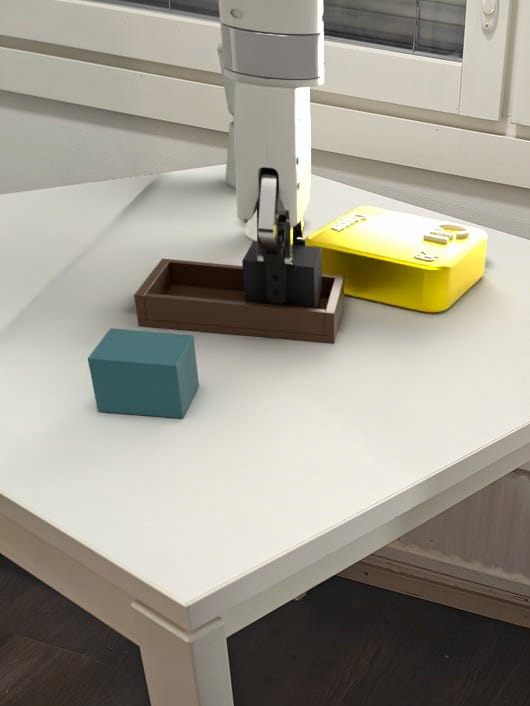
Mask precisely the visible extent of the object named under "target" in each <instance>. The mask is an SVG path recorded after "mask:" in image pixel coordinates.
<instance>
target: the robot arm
mask: <svg viewBox="0 0 530 706" xmlns="http://www.w3.org/2000/svg"><path fill="white" fill-rule="evenodd" d="M218 9H219V10H218V11H219V22H220V35H221V43H222V51H223V64H224V66H223V67H224V75H225V76H226V77H228V78H230V79H232V80H235V81H236V82H235V102H234V136H235V167H236V190H235V193H236V195H235V197H236V214H237V218H238V220H239V221H240V222H242V224H246V223H247V222H248V221H249V219H250V220H251V219H252V217H253V215H254V214H255V212H256V210H257V276H258V292H259V304H270V305H281V306H292V307H298V300H297V269H296V262H292V260H293V245H302V246H306V240H305V237H304V236H305V225H304V215H305V212H306V210H307V208H308V207H307V206H308V204H309V202H310V197H311V180H312V132H311V131H312V130H311V129H312V127H311V99H310V98H311V96H310V94H311V93H310V88H315V87H317V86H322V85H323V84H324V83H325V67H324V65H325V64H324V61H325V60H324V0H218ZM298 238H301V239H298Z"/></svg>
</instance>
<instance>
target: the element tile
mask: <svg viewBox="0 0 530 706" xmlns="http://www.w3.org/2000/svg"><path fill="white" fill-rule="evenodd" d="M304 240H306V246H312V247H321V266H322V274H330V275H341V276H344V296H349V297H354V298H357V299H358V298H359V299H363V300H367V301H372V302H377V303H381V304H386V305H389V306H390V305H391V306H395V307H399V308H403V309H409V310H412V311H417V312H422V313H432V314H435V313H441V312H444V311H446V310H448V309H449V308H451V306H453V305H454V304H455V303H456V302H457V301H458V300H459V299H460V298H461V297H462V296H463V295H464V294H466V292H467V291H468V290H470V289H471V288H472V287H473V286H474V285H475V284H476V283H477V282H478V281H479V280H480V279H481V278H482V277H483V276H484V274H485V265H486V256H487V246H488V235H487V233H486V232H485V230H484V229H481V228H476V227H472V226H467V225H464V224H460V223H459V224H458V223H453V222H448V221H444V220H443V221H442V220H437V219H432V218H427V217H423V216H418V215H413V214H408V213H403V212H398V211H393V210H388V209H384V208H379V207H373V206H366V205H365V206H360V207H357V208H355V209H353V210H351V211H349V212H346V213H345V214H343V215H342V216H340V217H338V218H335V219H334V220H332V221H330V222H328V223H327V224H325V225H324V226H321V227H320V228H318V229H316V230H315V231H312V232H311V233H309V234H307V235H306V236H305V237H304Z"/></svg>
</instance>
